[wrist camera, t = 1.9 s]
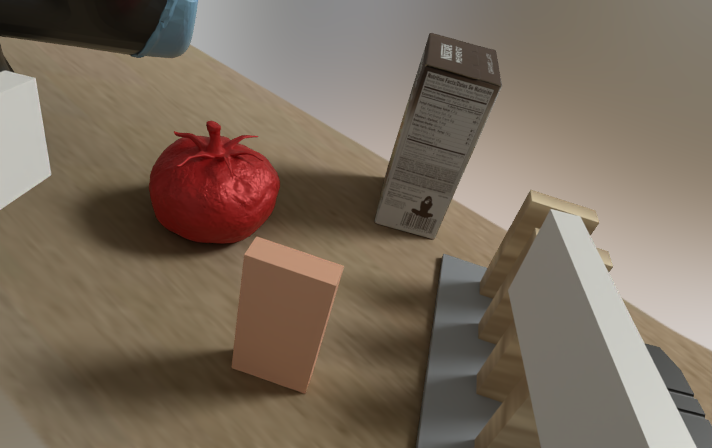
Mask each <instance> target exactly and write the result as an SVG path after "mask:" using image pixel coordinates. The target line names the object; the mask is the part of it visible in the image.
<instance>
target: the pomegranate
mask: <svg viewBox="0 0 712 448" xmlns="http://www.w3.org/2000/svg"><path fill="white" fill-rule="evenodd" d="M206 126H207V130H208V132H209V136H210V137H205V136H195V135H194V134H190V133H178V132H175V131H174V133H175V135H176V136H179V137H183V138H180V139H178V140H177V141H175V142H174V143H173V144H171V145H170V146H168V147H167V148H166V149H165V150H164V151H163V153H162V154H161V155H160V157H159V158H158V160H157V161H156V163H155V165H154V166H153V168H152V171H151V174H150V183H149V191H150V197H151V201H152V206H153V209H154V212H155V215H156V218H157V219H158V221H159V222H160V223H161V224H162V225H163V226H164V227H165V228H166V229H168V230H169V231H171V232H174V233H176V234H178V235H180V236H182V237H183V238H186V239H189V240H192V241H195V242H201V243H235V242H238V241H241V240H244V239H245V238H247V237H249V236H250V235H251V234H253V233H254V232H255V231H256V230H257V229H258V228H259V227H260V226H261V225H262V224H263V223H264V222H265V221H266V220H267V219H268V217H269V216H270V214H271V213H272V211H273V209H274V206H275V202H276V197H277V194H278V191H279V188H280V180H279V176H278V175H277V172H276V170H275V169H274V168H273V166H272V165H271V164H270V162H269V161H268V160H267V158H266V157H264V156H263V155H262V154H260V153H258V152H256V151H254V150H252V149H250V148H248V147H246V146H244V145H241V144H239V143H238V142H239V141H241V140H242V139H244V138H251V137H258V136H251V135H242V136H239V137H237V138H235V139H232V140H230V139H229V138H227V137H224V136H220V130H221V126H220V125H219V124H218V123H216V122H214V121H208V122H207V124H206Z"/></svg>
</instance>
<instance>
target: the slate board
mask: <svg viewBox="0 0 712 448" xmlns="http://www.w3.org/2000/svg"><path fill="white" fill-rule="evenodd" d="M486 270H487V268H485V267H482V266H479V265H476V264H473V263H470V262H467V261H464V260H461V259H458V258H455V257H452V256H449V255H446V254H443V256H442V261H441V268H440V276H439V283H438V290H437V297H436V305H435V312H434V319H433V327H432V334H431V341H430V349H429V356H428V363H427V371H426V378H425V385H424V392H423V400H422V407H421V414H420V422H419V429H418V436H417V444H416V448H474V446H475V438H476V437H477V436H478V434H479V433H480V432H481V431H482V429H483V428H484V427H485V425H486V424H487V423H488V421H489V420H490V419H491V417H492V416H493V415H494V413H495V412H496V411H497V409H498V408H499V407H500V406H501V404H502V402H499V401H496V400H493V399H490V398H487V397H484V396H482V395H479V394H476V386H477V374H478V372H479V371H480V369H481V368H482V366H483V365H484V363H485V361H486V360H487V358H488V357H489V355H490V354H491V352H492V351H493V349H494V348H495V346H496V345H495V344H493V343H490V342H487V341H484V340H481V339H478V325H479V322H480V320H481V318H482V317H483V315H484V313H485V312H486V310H487V308H488V307H489V305H490V303H491V302H492V300H493V299H492V298H489V297H486V296H483V295H480V281H481V279H482V277H483V275H484V274H485V272H486Z"/></svg>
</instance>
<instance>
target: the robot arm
mask: <svg viewBox="0 0 712 448" xmlns="http://www.w3.org/2000/svg"><path fill="white" fill-rule="evenodd" d="M197 4H198V0H0V36H2V37H10V38H17V39H25V40H32V41H39V42H46V43H54V44H61V45H68V46H75V47H82V48H88V49H95V50H101V51H108V52H115V53H121V54H128V55H131V56H132V57H136V58H141V57H144V56H152V57H163V58H175V57H178V56H180V55H182V54H183V53H184V52H185V51H186V50H187V49H188V47H189V45H190V42H191V39H192V34H193V29H194V24H195V18H196V12H197ZM49 176H51V170H50V164H49V158H48V152H47V145H46V139H45V133H44V127H43V121H42V115H41V109H40V102H39V96H38V90H37V84H36V78H33V77H29V76H25V75H21V74H17V73H14V71H13V69H12V68H11V66H10V65H9V63H8V61H7V60H6V58H5V57H4V55H3V52H2V49H1V45H0V210H1V209H2V208H3V207H5V206H6V205H8V204H9V203H11V202H12V201H14V200H15V199H17V198H18V197H20V196H21V195H23V194H24V193H26V192H27V191H28V190H30V189H31V188H33V187H34V186H36V185H37V184H39V183H40V182H42V181H43V180H45V179H46V178H48V177H49ZM508 293H509V297H510V302H511V307H512V312H513V316H514V321H515V326H516V331H517V335H518V340H519V345H520V350H521V355H522V359H523V364H524V369H525V374H526V378H527V383H528V388H529V393H530V397H531V402H532V407H533V412H534V416H535V421H536V426H537V431H538V435H539V440H540V445H541V448H712V426H711V424H710V422H709V420H706V419H705V413H704V411H703V409H702V408H701V406H700V404H699V402H698V400H697V399H694V398H693V396H694V393H693V391H692V390H691V388H690V386H689V384H688V382H687V381H686V379H685V377H684V375H683V373H682V372H681V370H680V369H679V368H678V367H677V366H676V365H675V364H674V362H673V361H672V360H671V359H670V358H669V357H668V356H667V355H666V354H665V353H664V352H663V351H662V350H661V348H660V347H656V346H653V345H649V344H645V343H644V342H643V340H642V338H641V336H640V334H639V332H638V330H637V328H636V326H635V324H634V322H633V320H632V318H631V316H630V314H629V312H628V310H627V308H626V306H625V304H624V302H623V300H622V298H621V296H620V294H619V292H618V290H617V288H616V287H615V284H614V282H613V280H612V278H611V276H610V274H609V272H608V270H607V268H606V266H605V264H604V262H603V260H602V258H601V256H600V255H599V253H598V251H597V249H596V247H595V245H594V243H593V241H592V239H591V237H590V235H589V233H588V231H587V229H586V227H585V225H584V223H583V221H582V219H581V217H580V216H576V215H573V214H569V213H565V212H561V211H557V210H553V209H550V211H549V213H548V215H547V217H546V219H545V221H544V222H543V224H542V226H541V228H540V230H539V232H538V234H537V236H536V238H535V240H534V242H533V243H532V245H531V247H530V249H529V251H528V253H527V255H526V257H525V259H524V261H523V263H522V264H521V266H520V268H519V270H518V272H517V274H516V276H515V278H514V280H513V282H512V284H511V285H510V287H509V289H508Z"/></svg>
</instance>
